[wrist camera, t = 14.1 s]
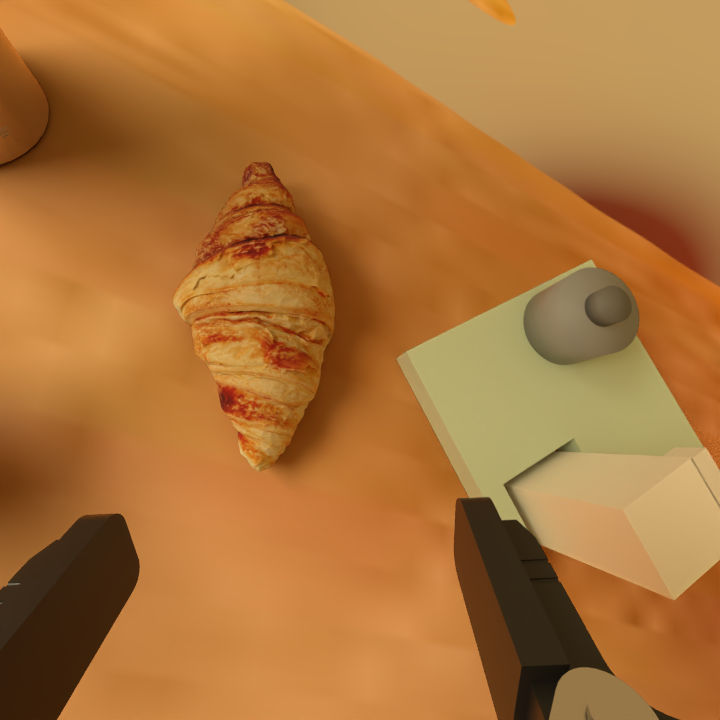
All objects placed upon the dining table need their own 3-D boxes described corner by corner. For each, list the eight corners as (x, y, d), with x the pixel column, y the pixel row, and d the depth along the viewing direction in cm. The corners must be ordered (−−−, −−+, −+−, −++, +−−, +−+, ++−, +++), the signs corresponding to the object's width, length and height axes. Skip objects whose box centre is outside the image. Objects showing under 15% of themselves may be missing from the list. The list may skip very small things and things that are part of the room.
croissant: (305, 460, 30) (372, 464, 24) (162, 479, 23) (203, 490, 17) (294, 209, 33) (350, 156, 27) (167, 166, 27) (203, 85, 21)
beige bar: (497, 483, 28) (622, 509, 18) (557, 444, 30) (705, 446, 19) (527, 539, 28) (674, 600, 17) (586, 496, 30) (754, 528, 19)
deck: (395, 358, 29) (434, 330, 21) (569, 272, 34) (650, 224, 26) (506, 569, 27) (589, 617, 20) (672, 447, 32) (790, 450, 24)
